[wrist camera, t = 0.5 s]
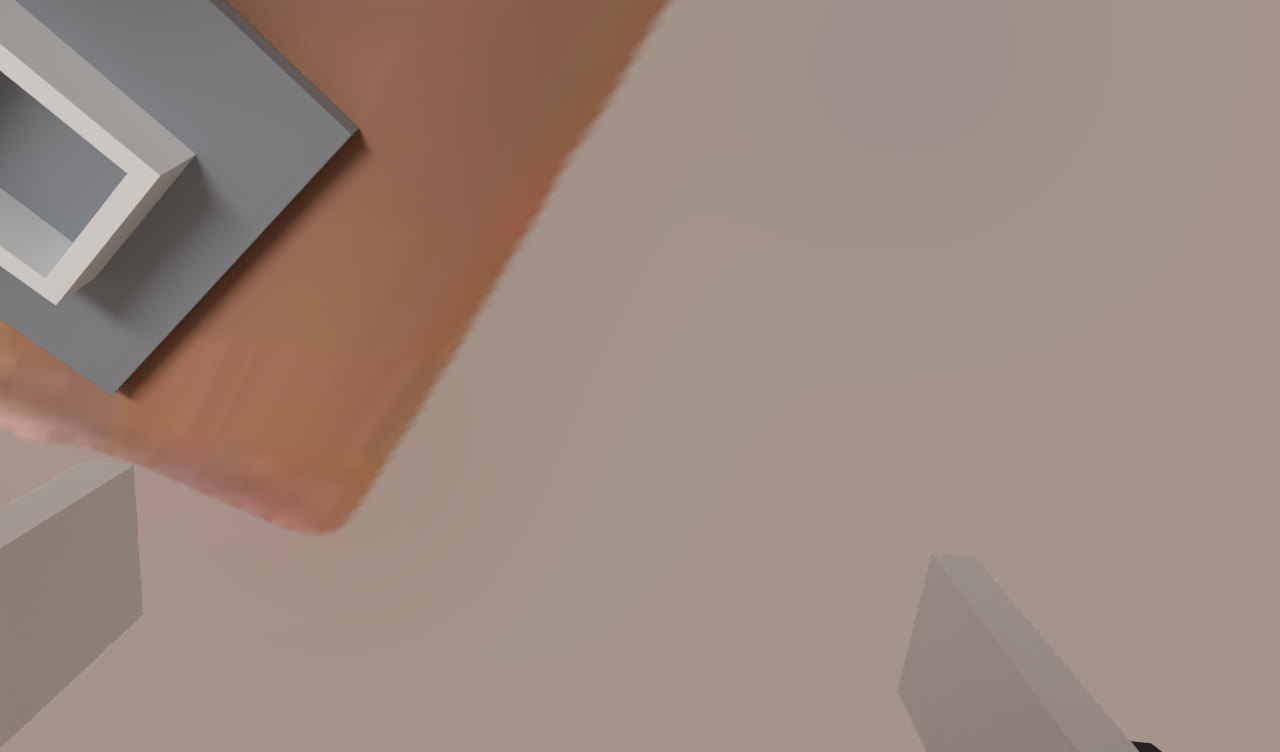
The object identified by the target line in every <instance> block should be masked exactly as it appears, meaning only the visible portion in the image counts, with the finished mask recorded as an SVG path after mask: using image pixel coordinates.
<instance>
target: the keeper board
mask: <svg viewBox="0 0 1280 752" xmlns="http://www.w3.org/2000/svg"><path fill="white" fill-rule="evenodd" d="M358 129H359V128H358V127H357V126H356V125H355V124H354V123H353V122H352V121H351V120H349V119H348V118H347V117H346V116H345V115H344V114H343V113H342V112H341V111H340V110H339V109H338V108H337V107H336V106H335V105H334V104H333V103H332V102H331V101H330V100H329V99H327V98H326V97H325V96H324V95H323V94H322V93H321V92H320V91H319V90H318V89H317V88H316V87H315V86H314V85H313V84H312V83H311V82H310V81H309V80H308V79H306V78H305V77H304V76H303V75H302V74H301V73H300V72H299V71H298V70H297V69H296V68H295V67H294V66H293V65H292V64H291V63H290V62H289V61H288V60H287V59H285V58H284V57H283V56H282V55H281V54H280V53H279V52H278V51H277V50H276V49H275V48H274V47H273V46H272V45H271V44H270V43H269V42H268V41H267V40H266V39H264V38H263V37H262V36H261V35H260V34H259V33H258V32H257V31H256V30H255V29H254V28H253V27H252V26H251V25H250V24H249V23H248V22H247V21H246V20H245V19H243V18H242V17H241V16H240V15H239V14H238V13H237V12H236V11H235V10H234V9H233V8H232V7H231V6H230V5H229V4H228V3H227V2H226V1H225V0H0V320H1V321H3V322H4V323H6V324H7V325H9V326H10V327H12V328H13V329H14V330H16V331H17V332H19V333H20V334H22V335H23V336H25V337H26V338H28V339H29V340H31V341H32V342H33V343H35V344H36V345H38V346H39V347H41V348H42V349H44V350H45V351H47V352H48V353H49V354H51V355H52V356H54V357H55V358H57V359H58V360H60V361H61V362H63V363H64V364H66V365H67V366H68V367H70V368H71V369H73V370H74V371H76V372H77V373H79V374H80V375H82V376H83V377H84V378H86V379H87V380H89V381H90V382H92V383H93V384H95V385H96V386H98V387H99V388H101V389H102V390H103V391H105V392H106V393H108V394H109V395H111V396H112V395H113V394H114V393H115V392H116V391H117V390H118V389H119V388H120V387H121V386H122V385H123V384H124V383H125V382H126V381H127V380H128V379H129V378H130V377H131V376H132V374H133V373H134V372H135V371H136V370H137V369H138V368H139V367H140V366H141V365H142V364H143V362H144V361H145V360H146V359H147V358H148V357H149V356H150V355H151V354H152V353H153V352H154V351H155V349H156V348H157V347H158V346H159V345H160V344H161V343H162V342H163V341H164V340H165V339H166V338H167V336H168V335H169V334H170V333H171V332H172V331H173V330H174V329H175V328H176V327H177V326H178V325H179V323H180V322H181V321H182V320H183V319H184V318H185V317H186V316H187V315H188V314H189V313H190V311H191V310H192V309H193V308H194V307H195V306H196V305H197V304H198V303H199V302H200V301H201V300H202V298H203V297H204V296H205V295H206V294H207V293H208V292H209V291H210V290H211V289H212V288H213V287H214V285H215V284H216V283H217V282H218V281H219V280H220V279H221V278H222V277H223V276H224V275H225V274H226V272H227V271H228V270H229V269H230V268H231V267H232V266H233V265H234V264H235V263H236V262H237V260H238V259H239V258H240V257H241V256H242V255H243V254H244V253H245V252H246V251H247V250H248V249H249V247H250V246H251V245H252V244H253V243H254V242H255V241H256V240H257V239H258V238H259V237H260V236H261V234H262V233H263V232H264V231H265V230H266V229H267V228H268V227H269V226H270V225H271V224H272V222H273V221H274V220H275V219H276V218H277V217H278V216H279V215H280V214H281V213H282V212H283V211H284V209H285V208H286V207H287V206H288V205H289V204H290V203H291V202H292V201H293V200H294V199H295V198H296V196H297V195H298V194H299V193H300V192H301V191H302V190H303V189H304V188H305V187H306V186H307V185H308V183H309V182H310V181H311V180H312V179H313V178H314V177H315V176H316V175H317V174H318V173H319V171H320V170H321V169H322V168H323V167H324V166H325V165H326V164H327V163H328V162H329V161H330V160H331V158H332V157H333V156H334V155H335V154H336V153H337V152H338V151H339V150H340V149H341V148H342V147H343V145H344V144H345V143H346V142H347V141H348V140H349V139H350V138H351V137H352V136H353V135H354V134H355V132H356V131H357V130H358Z"/></svg>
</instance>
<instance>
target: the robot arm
mask: <svg viewBox="0 0 1280 752" xmlns="http://www.w3.org/2000/svg"><path fill="white" fill-rule="evenodd" d="M140 580H141V579H140V563H139V546H138V530H137V514H136V497H135V481H134V465H127V464H117V463H108V462H99V461H89V460H84V461H83V462H81V463H79V464H77V465H75V466H74V467H72V468H70V469H68V470H66V471H65V472H63V473H61V474H59V475H58V476H56V477H54V478H52V479H50V480H49V481H47V482H45V483H43V484H42V485H40V486H38V487H36V488H35V489H33V490H31V491H29V492H27V493H25V494H24V495H22V496H20V497H18V498H16V499H15V500H13V501H11V502H10V503H8V504H6V505H4V506H2V507H0V748H1V747H2V746H3V745H4V744H5V743H6V742H7V741H8V740H9V739H10V738H11V737H12V736H13V735H15V733H17V732H18V731H19V730H20V729H21V728H22V727H23V726H24V725H25V724H26V723H27V722H28V721H29V720H30V719H31V718H33V717H34V716H35V715H36V714H37V713H38V712H39V711H40V710H41V709H42V708H43V707H44V706H45V705H46V704H48V703H49V702H50V701H51V700H52V699H53V698H54V697H55V696H56V695H57V694H58V693H59V692H60V691H61V690H63V688H65V687H66V686H67V685H68V684H69V683H70V682H71V681H72V680H73V679H74V678H75V677H76V676H77V675H79V673H81V672H82V671H83V670H84V669H85V668H86V667H87V666H88V665H89V664H90V663H91V662H92V661H94V660H95V659H96V658H97V657H98V656H99V655H100V654H101V653H102V652H103V651H104V650H105V649H106V648H107V647H108V646H109V645H111V644H112V643H113V642H114V641H115V640H116V639H117V638H118V637H119V636H120V635H121V634H122V633H123V632H124V631H125V630H126V629H128V628H129V627H130V626H131V625H132V624H133V623H134V622H135V621H136V620H137V619H138V618H139V617H140V616H142V614H143V612H142V597H141V581H140ZM897 692H898V694H899V696H900V698H901V700H902V702H903V704H904V706H905V708H906V710H907V713H908V715H909V717H910V719H911V721H912V723H913V725H914V727H915V729H916V731H917V734H918V736H919V738H920V740H921V742H922V744H923V746H924V748H925V750H926V752H1161V751H1160V750H1159V749H1158V748H1156V747H1155V746H1154V745H1152V744H1151V743H1143V742H1133V741H1130V740H1129V739H1128V738H1127V737H1126V735H1125V734H1124V733H1123V732H1122V731H1121V729H1120V728H1119V727H1118V726H1117V724H1116V723H1115V722H1114V721H1113V720H1112V718H1111V717H1110V716H1109V715H1108V714H1107V712H1106V711H1105V710H1104V709H1103V708H1102V706H1100V704H1099V703H1098V702H1097V701H1096V699H1095V698H1094V697H1093V696H1092V695H1091V693H1090V692H1089V691H1088V690H1087V688H1086V687H1085V686H1084V685H1083V684H1082V682H1081V681H1080V680H1079V679H1078V678H1077V676H1076V675H1075V674H1074V673H1073V672H1072V671H1071V669H1070V668H1069V667H1068V666H1067V665H1066V664H1065V662H1064V661H1063V660H1062V659H1061V657H1060V656H1059V655H1058V654H1057V653H1056V651H1055V650H1054V649H1053V648H1052V647H1051V645H1050V644H1049V643H1048V642H1047V641H1046V639H1045V638H1044V637H1043V636H1042V635H1041V633H1040V632H1039V631H1038V630H1037V629H1036V627H1035V626H1034V625H1033V624H1032V623H1031V621H1030V620H1029V619H1028V618H1027V617H1026V615H1025V614H1024V613H1023V612H1022V611H1021V610H1020V608H1019V607H1018V606H1017V605H1016V604H1015V602H1014V601H1013V600H1012V599H1011V598H1010V596H1009V595H1008V594H1007V593H1006V591H1005V590H1004V589H1003V588H1002V587H1001V585H1000V584H999V583H998V582H997V581H996V580H995V578H994V577H993V576H992V575H991V573H990V572H989V571H988V570H987V569H986V567H985V566H984V565H983V564H982V563H981V562H980V560H979V559H978V558H977V557H974V556H965V555H955V554H946V553H937V552H932V553H931V557H930V561H929V565H928V569H927V574H926V578H925V581H924V585H923V589H922V594H921V598H920V602H919V606H918V610H917V614H916V618H915V622H914V626H913V630H912V634H911V638H910V642H909V646H908V650H907V654H906V658H905V662H904V666H903V670H902V674H901V678H900V683H899V687H898V691H897Z"/></svg>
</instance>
